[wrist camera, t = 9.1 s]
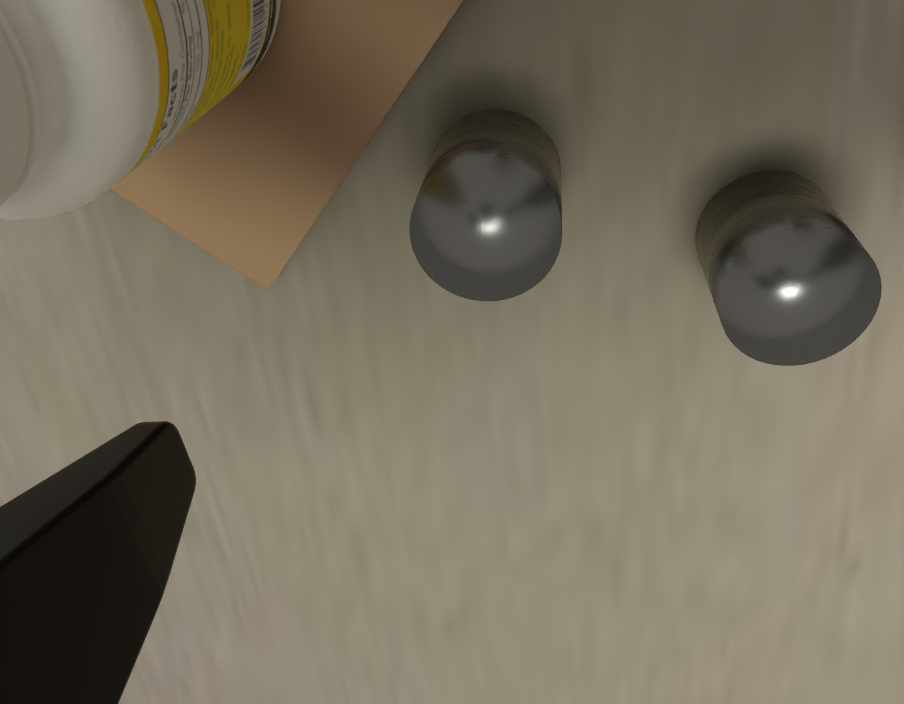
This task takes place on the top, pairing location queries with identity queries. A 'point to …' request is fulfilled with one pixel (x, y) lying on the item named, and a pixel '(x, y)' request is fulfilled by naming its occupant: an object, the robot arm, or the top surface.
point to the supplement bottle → (110, 88)
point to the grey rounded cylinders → (717, 241)
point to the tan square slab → (287, 130)
